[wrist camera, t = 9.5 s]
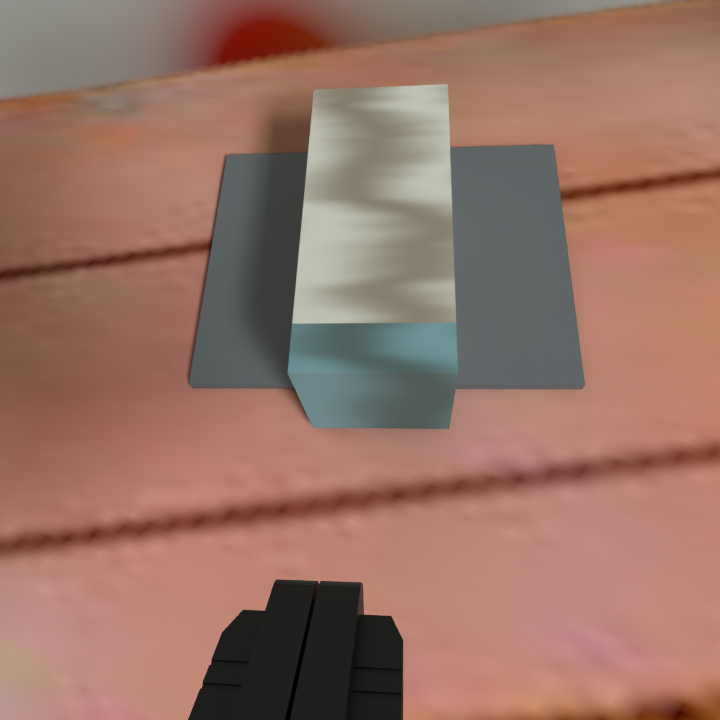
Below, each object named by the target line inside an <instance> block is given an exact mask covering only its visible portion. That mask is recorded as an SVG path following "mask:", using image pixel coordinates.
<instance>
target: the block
mask: <svg viewBox="0 0 720 720" xmlns="http://www.w3.org/2000/svg"><path fill="white" fill-rule="evenodd" d="M288 375H289V377H290V380H291V382H292V384H293V386H294V388H295V390H296V393H297V395H298V397H299V399H300V401H301V403H302V405H303V408H304V410H305V412H306V414H307V416H308V418H309V421H310V423H311V425H312V427H313V428H421V429H449V426H450V419H451V413H452V407H453V401H454V395H455V389H456V382H457V376H458V359H457V331H456V302H455V274H454V246H453V218H452V189H451V161H450V133H449V104H448V84H445V85H420V86H395V87H371V88H346V89H321V90H314V95H313V105H312V116H311V127H310V138H309V148H308V159H307V170H306V181H305V191H304V202H303V213H302V223H301V234H300V245H299V256H298V266H297V277H296V288H295V299H294V309H293V320H292V331H291V341H290V352H289V363H288Z"/></svg>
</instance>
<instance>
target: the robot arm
mask: <svg viewBox="0 0 720 720" xmlns="http://www.w3.org/2000/svg"><path fill="white" fill-rule="evenodd" d="M188 720H403V639H402V637H401V635H400V633H399V631H398V629H397V627H396V625H395V623H394V621H393V619H392V617H391V616H378V615H364V604H363V584H362V583H360V582H334V581H321V582H320V584H319V582H318V581H303V580H276V581H275V583H274V585H273V588H272V591H271V594H270V597H269V600H268V604H267V607H266V610H265V611H256V610H243V611H242V612H241V613H240V614H239V615H238V616H237V617H236V618H235V619H234V620H233V621H232V622H231V624H230V625H229V626H228V627H227V628H226V629H225V630H224V631H223V632H222V634H221V637H220V639H219V642H218V645H217V647H216V650H215V652H214V655H213V657H212V662H211V665H209V668H208V670H207V673H206V675H205V678H204V680H203V686H202V689H200V691H199V693H198V696H197V698H196V701H195V703H194V706H193V709H192V711H191V714H190V716H189V719H188Z"/></svg>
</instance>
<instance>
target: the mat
mask: <svg viewBox="0 0 720 720" xmlns="http://www.w3.org/2000/svg"><path fill="white" fill-rule="evenodd" d="M307 159H308V152H303V153H271V154H239V155H227V157H226V163H225V169H224V175H223V181H222V187H221V193H220V199H219V205H218V211H217V217H216V223H215V229H214V235H213V241H212V247H211V253H210V259H209V266H208V272H207V278H206V284H205V290H204V296H203V302H202V308H201V314H200V320H199V326H198V332H197V338H196V344H195V350H194V356H193V362H192V368H191V374H190V380H189V385H190V386H191V387H192V388H294V386H293V384H292V382H291V380H290V377H289V375H288V363H289V352H290V341H291V331H292V320H293V309H294V299H295V288H296V277H297V266H298V256H299V245H300V234H301V223H302V213H303V202H304V191H305V181H306V170H307ZM450 161H451V189H452V218H453V246H454V274H455V302H456V331H457V359H458V376H457V382H456V389H582V388H583V387H584V385H585V382H584V374H583V367H582V359H581V351H580V344H579V336H578V328H577V320H576V313H575V305H574V297H573V290H572V282H571V274H570V266H569V259H568V251H567V243H566V236H565V228H564V220H563V212H562V205H561V197H560V189H559V182H558V174H557V166H556V158H555V151H554V145H526V146H494V147H462V148H450Z"/></svg>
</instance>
